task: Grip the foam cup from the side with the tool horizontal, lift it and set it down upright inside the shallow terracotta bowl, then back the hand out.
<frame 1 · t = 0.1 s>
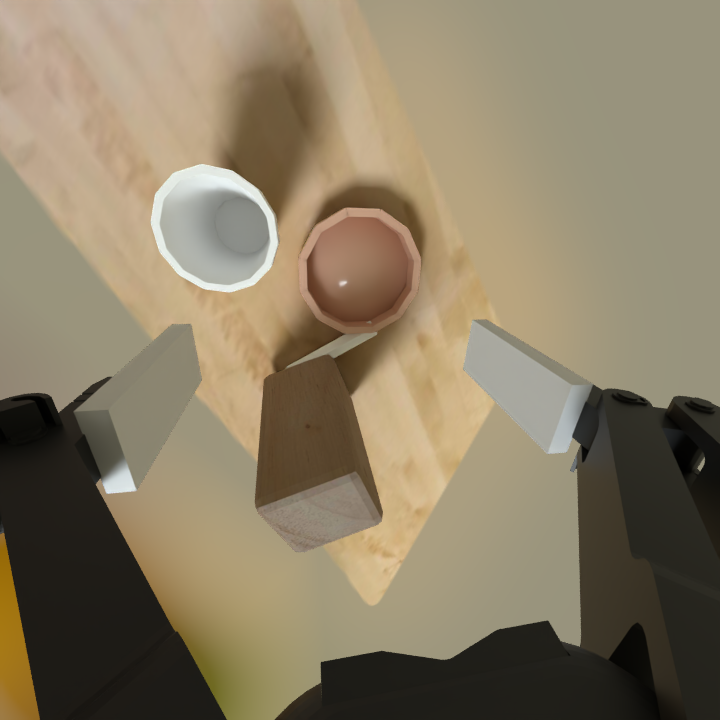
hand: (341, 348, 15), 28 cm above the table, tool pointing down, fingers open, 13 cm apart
bowl: (357, 271, 41), on the table
wooden block: (309, 387, 47), point 1 cm above the table, touching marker
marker: (322, 350, 45), on the table, touching bowl, wooden block
foam cup: (243, 226, 37), on the table
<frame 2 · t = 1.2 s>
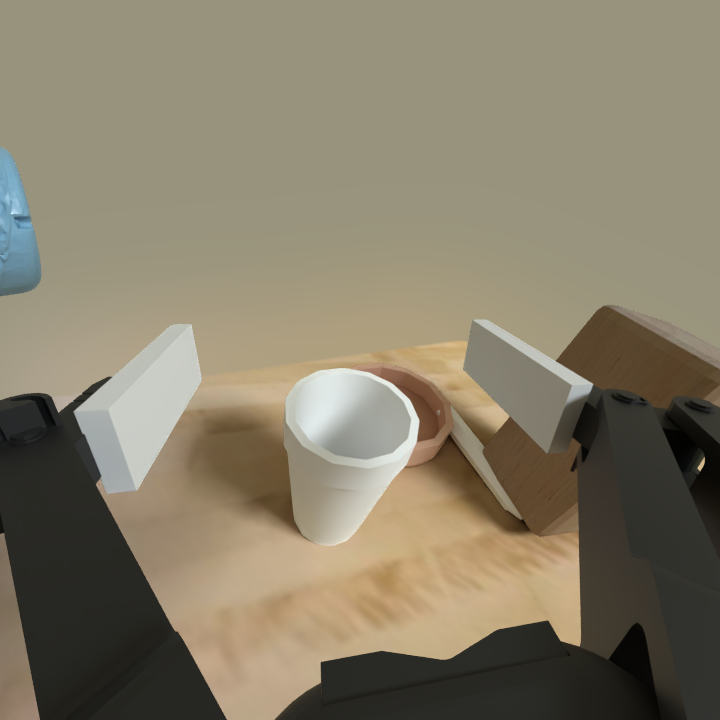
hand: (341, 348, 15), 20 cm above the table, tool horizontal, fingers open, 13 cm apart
bowl: (387, 418, 41), on the table
wooden block: (533, 491, 35), point 1 cm above the table, touching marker
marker: (476, 468, 37), on the table, touching bowl, wooden block
foam cup: (327, 511, 30), on the table
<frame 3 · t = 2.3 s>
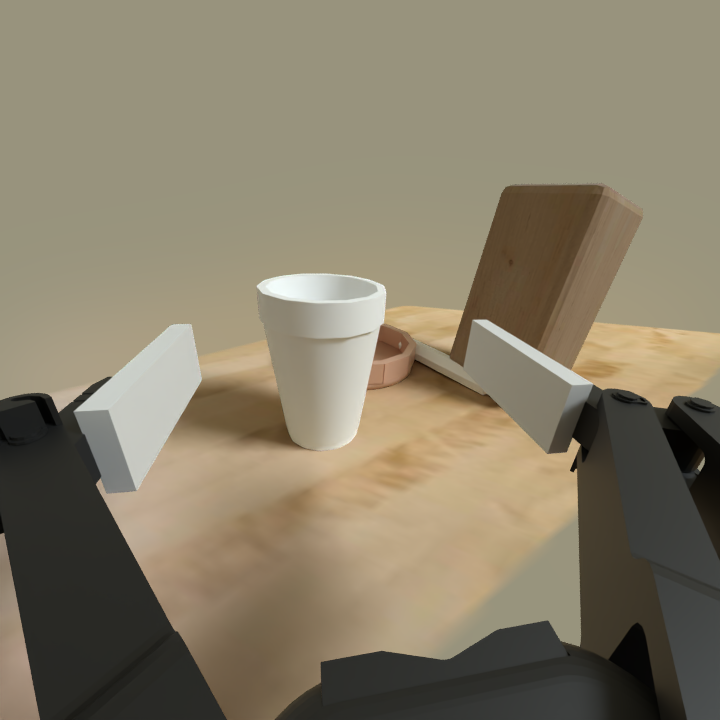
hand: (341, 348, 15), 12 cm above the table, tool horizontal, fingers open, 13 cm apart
bowl: (355, 361, 42), on the table
wooden block: (501, 378, 39), point 1 cm above the table, touching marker
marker: (448, 376, 40), on the table, touching bowl, wooden block
foam cup: (323, 429, 30), on the table
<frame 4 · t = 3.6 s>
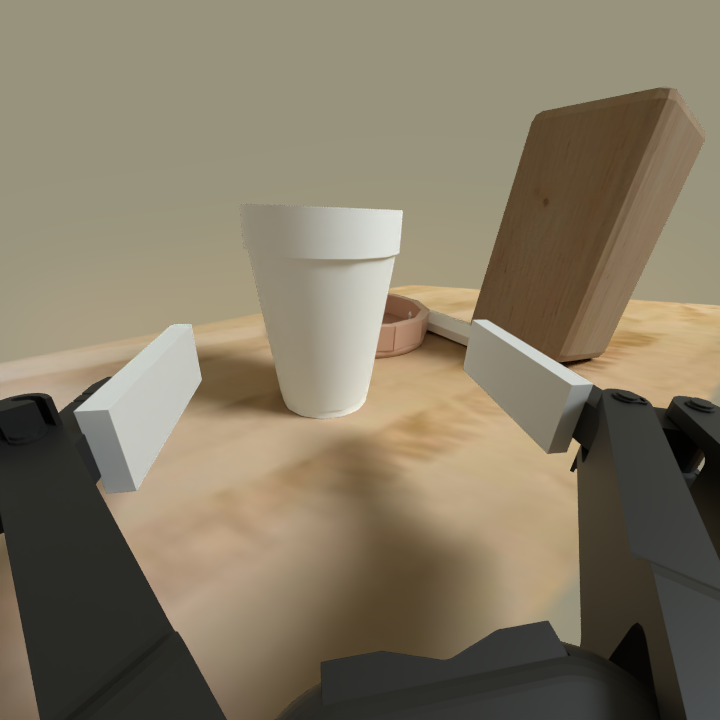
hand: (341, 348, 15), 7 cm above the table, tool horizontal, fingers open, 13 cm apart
bowl: (360, 332, 37), on the table
wooden block: (531, 346, 34), point 1 cm above the table, touching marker
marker: (466, 345, 35), on the table, touching bowl, wooden block
foam cup: (325, 397, 25), on the table
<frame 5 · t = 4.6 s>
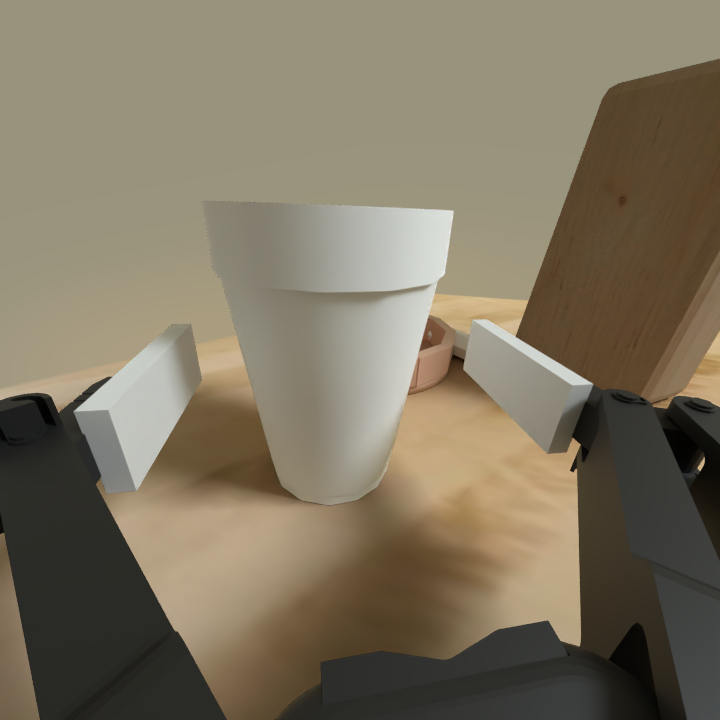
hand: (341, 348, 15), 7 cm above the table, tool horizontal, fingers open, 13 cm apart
bowl: (371, 357, 31), on the table
wooden block: (587, 379, 27), point 1 cm above the table, touching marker
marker: (501, 376, 29), on the table, touching bowl, wooden block
foam cup: (331, 461, 18), on the table
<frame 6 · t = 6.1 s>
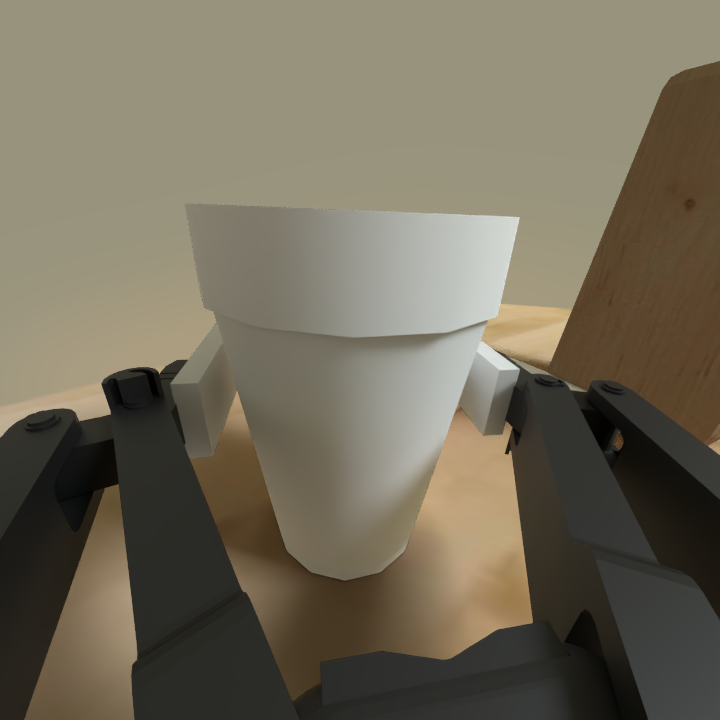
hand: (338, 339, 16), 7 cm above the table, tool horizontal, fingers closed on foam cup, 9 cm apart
wooden block: (636, 405, 24), on the table, touching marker
foam cup: (346, 514, 15), on the table, touching gripper
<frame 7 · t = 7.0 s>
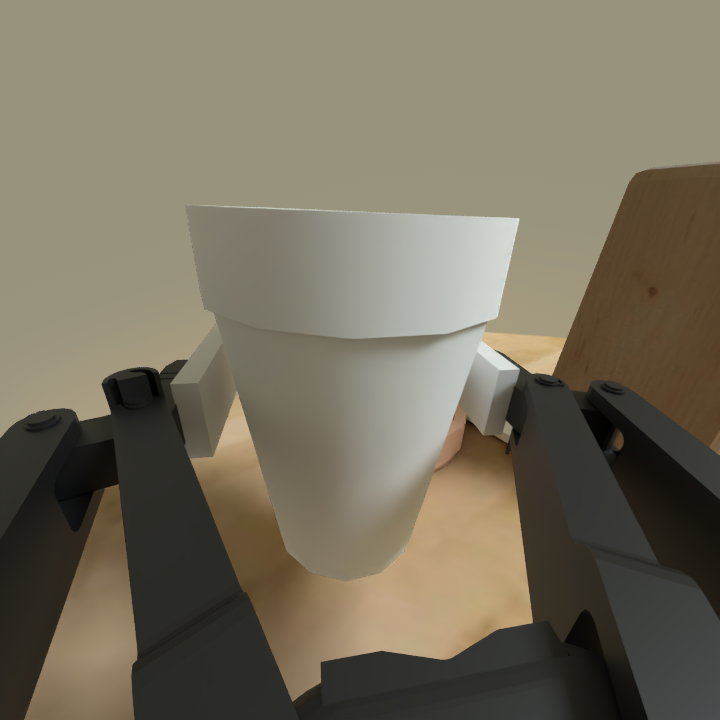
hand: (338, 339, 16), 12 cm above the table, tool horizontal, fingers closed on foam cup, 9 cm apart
bowl: (380, 423, 30), on the table
wooden block: (616, 457, 26), on the table, touching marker
foam cup: (346, 514, 15), point 5 cm above the table, touching gripper
when the fingers open (9 cm above the table, at t = 10.6 s): foam cup drops 1 cm, resting on bowl.
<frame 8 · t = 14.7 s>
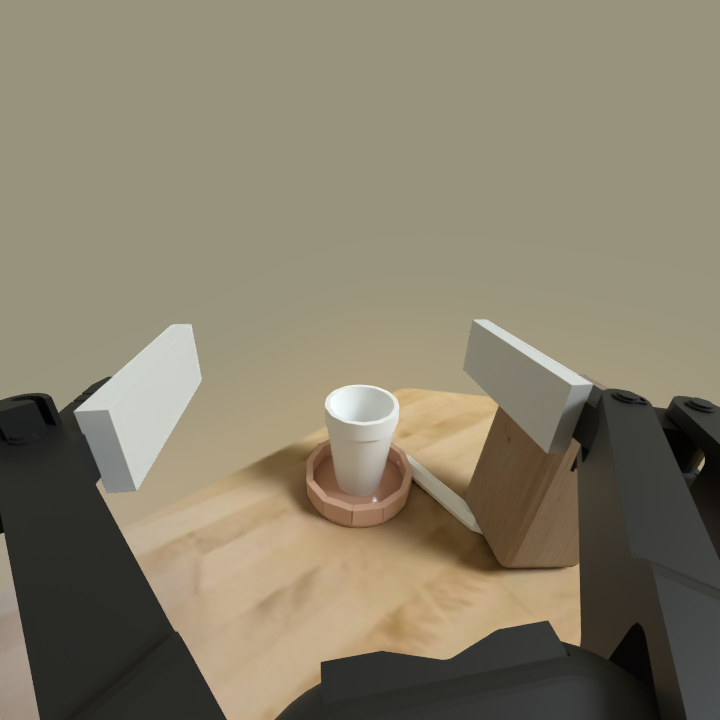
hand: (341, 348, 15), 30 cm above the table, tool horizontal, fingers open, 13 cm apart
bowl: (358, 482, 47), on the table
wooden block: (514, 533, 40), point 1 cm above the table, touching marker
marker: (441, 502, 44), on the table, touching bowl, wooden block
foam cup: (358, 480, 46), point 1 cm above the table, touching bowl
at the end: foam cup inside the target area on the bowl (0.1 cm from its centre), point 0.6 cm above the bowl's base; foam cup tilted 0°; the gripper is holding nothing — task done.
